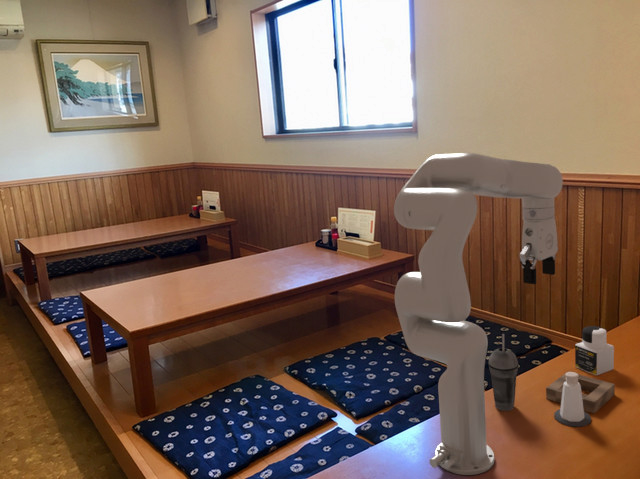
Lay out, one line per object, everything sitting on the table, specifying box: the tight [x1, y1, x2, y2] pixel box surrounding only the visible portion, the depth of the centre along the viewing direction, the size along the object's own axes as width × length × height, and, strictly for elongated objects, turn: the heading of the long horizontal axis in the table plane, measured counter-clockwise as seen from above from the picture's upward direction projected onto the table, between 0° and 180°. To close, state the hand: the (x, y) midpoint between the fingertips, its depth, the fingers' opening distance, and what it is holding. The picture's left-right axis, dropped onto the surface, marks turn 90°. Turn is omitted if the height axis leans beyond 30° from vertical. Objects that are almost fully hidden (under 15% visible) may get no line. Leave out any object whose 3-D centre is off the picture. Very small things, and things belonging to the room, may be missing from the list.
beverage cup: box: [487, 333, 520, 412], centre depth 137 cm, size 7×7×20 cm
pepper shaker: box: [559, 371, 585, 422], centre depth 130 cm, size 5×5×11 cm
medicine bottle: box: [574, 325, 615, 376], centre depth 154 cm, size 7×7×12 cm
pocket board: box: [545, 371, 616, 414], centre depth 140 cm, size 12×12×3 cm
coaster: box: [554, 408, 592, 428], centre depth 131 cm, size 8×8×1 cm
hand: (539, 278), depth 141 cm, fingers open, 9 cm apart
